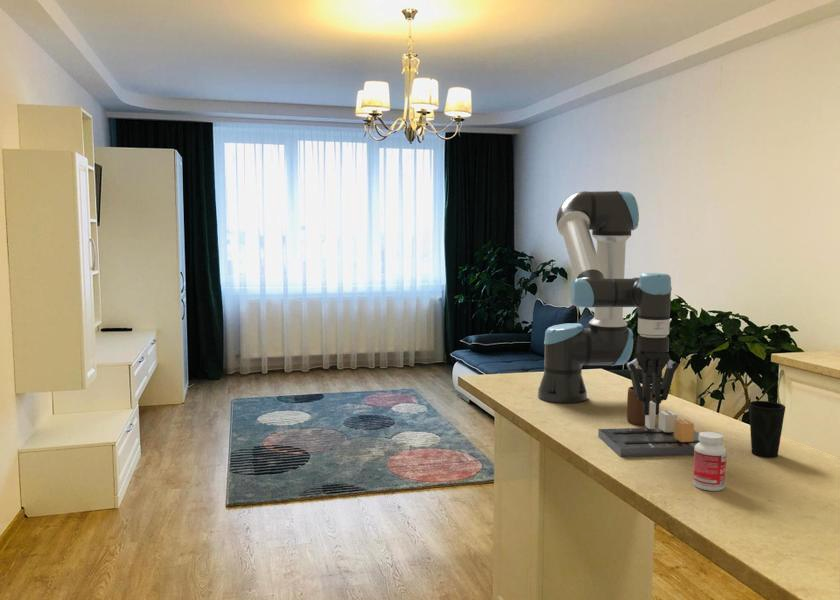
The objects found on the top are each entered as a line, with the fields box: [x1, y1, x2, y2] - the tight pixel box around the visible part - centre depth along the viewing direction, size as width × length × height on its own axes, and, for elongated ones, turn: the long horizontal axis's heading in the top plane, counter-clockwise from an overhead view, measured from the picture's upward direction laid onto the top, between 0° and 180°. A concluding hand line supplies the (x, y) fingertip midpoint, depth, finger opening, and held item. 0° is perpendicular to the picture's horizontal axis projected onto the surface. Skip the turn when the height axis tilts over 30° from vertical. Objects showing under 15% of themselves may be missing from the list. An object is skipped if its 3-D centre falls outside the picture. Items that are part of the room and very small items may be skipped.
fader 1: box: [657, 410, 678, 432], centre depth 175 cm, size 4×3×4 cm
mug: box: [626, 385, 657, 426], centre depth 188 cm, size 12×8×9 cm, turn 179°
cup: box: [748, 400, 786, 459], centre depth 163 cm, size 8×8×12 cm
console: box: [597, 427, 700, 458], centre depth 171 cm, size 16×24×2 cm, turn 94°
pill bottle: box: [692, 431, 727, 492], centre depth 143 cm, size 6×6×11 cm
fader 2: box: [674, 418, 695, 442], centre depth 167 cm, size 4×3×4 cm
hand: (649, 427), depth 174 cm, fingers closed
